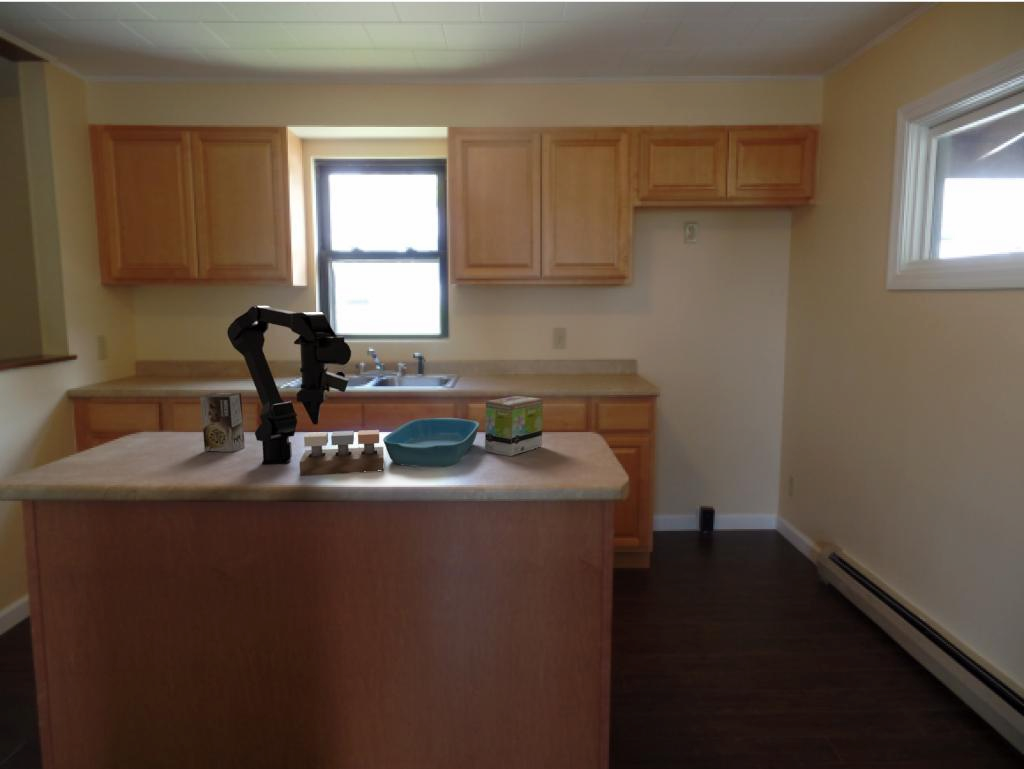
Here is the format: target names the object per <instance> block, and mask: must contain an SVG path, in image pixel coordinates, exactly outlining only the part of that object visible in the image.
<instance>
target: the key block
mask: <svg viewBox="0 0 1024 769" xmlns="http://www.w3.org/2000/svg"><path fill="white" fill-rule="evenodd" d="M348 450H349V455H348V456H338V448H330V449H329V448H327V449H326V448H325V449H323V448H322V457H312V451H311V449H306V450H305V451H304V453H303V454H302V456H301V459H300V460H299V476H321V475H337V474H336V473H341V474H350V473H349V472H360V473H365V472H364V471H378V470H383V471H384V469H383V463H384V446H374V452H375V454H369V455H364V447H350V448H349V447H348ZM378 472H379V471H378Z"/></svg>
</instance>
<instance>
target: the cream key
mask: <svg viewBox="0 0 1024 769" xmlns="http://www.w3.org/2000/svg"><path fill="white" fill-rule="evenodd" d="M328 443H329V432H328V431H327V432H326V431H322V432H321V431H320V432H319V431H318V432H306V433H305V435H304V437H303V444H304V447H305V448H307V447H311V449H310V450H311V451H312V457H322V450H323V446H325V447H326V446H327V445H328Z"/></svg>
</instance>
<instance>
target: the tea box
mask: <svg viewBox="0 0 1024 769" xmlns="http://www.w3.org/2000/svg"><path fill="white" fill-rule="evenodd" d="M543 409H544V399H543V398H538V397H529V396H523V395H515V396H509V397H503V398H497V399H492V400H491V399H490V400H486V401H485V428H484V429H485V430H484V433H485V434H484V435H485V436H484V438H485V439H484V450H485V452H488V453H492V454H497V455H502V456H506V455H507V456H508V457H512V456H515V455H518V454H520V453H524V452H528V451H532V450H535V448H536V449H539V448H538V447H540V448H542V447H541V446H543V445H542V444H543V421H544V420H543V416H544V415H543V412H544V411H543ZM507 456H506V457H507Z"/></svg>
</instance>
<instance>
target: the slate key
mask: <svg viewBox="0 0 1024 769" xmlns="http://www.w3.org/2000/svg"><path fill="white" fill-rule="evenodd" d="M354 432H355V431H354V430H343V431H332V434H331V435H330V436H331V437H330V438H331V442H330V443H331V446H337V449H338V456H348V455H349V450H348V448H349V446H350V445H354V441H355V435H354V434H355V433H354Z"/></svg>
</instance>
